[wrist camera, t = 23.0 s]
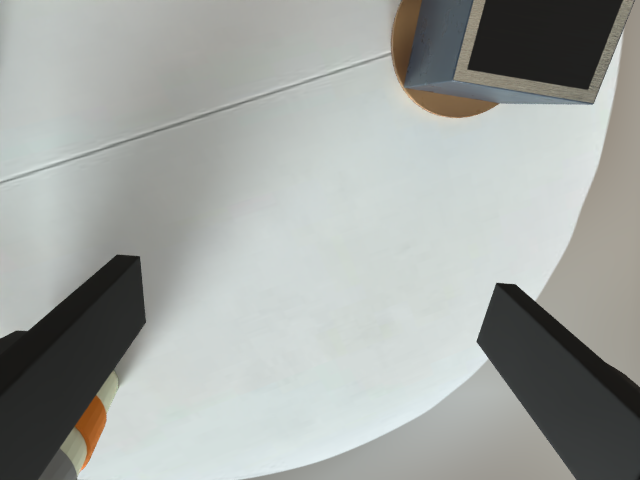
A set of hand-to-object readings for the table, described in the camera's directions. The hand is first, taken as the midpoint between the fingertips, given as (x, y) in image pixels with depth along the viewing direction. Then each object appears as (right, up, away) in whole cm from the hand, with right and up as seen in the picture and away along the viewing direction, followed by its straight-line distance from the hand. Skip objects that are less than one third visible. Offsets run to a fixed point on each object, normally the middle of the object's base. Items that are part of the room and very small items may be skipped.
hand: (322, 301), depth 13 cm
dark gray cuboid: (+13, +14, +16) cm, 25 cm away
